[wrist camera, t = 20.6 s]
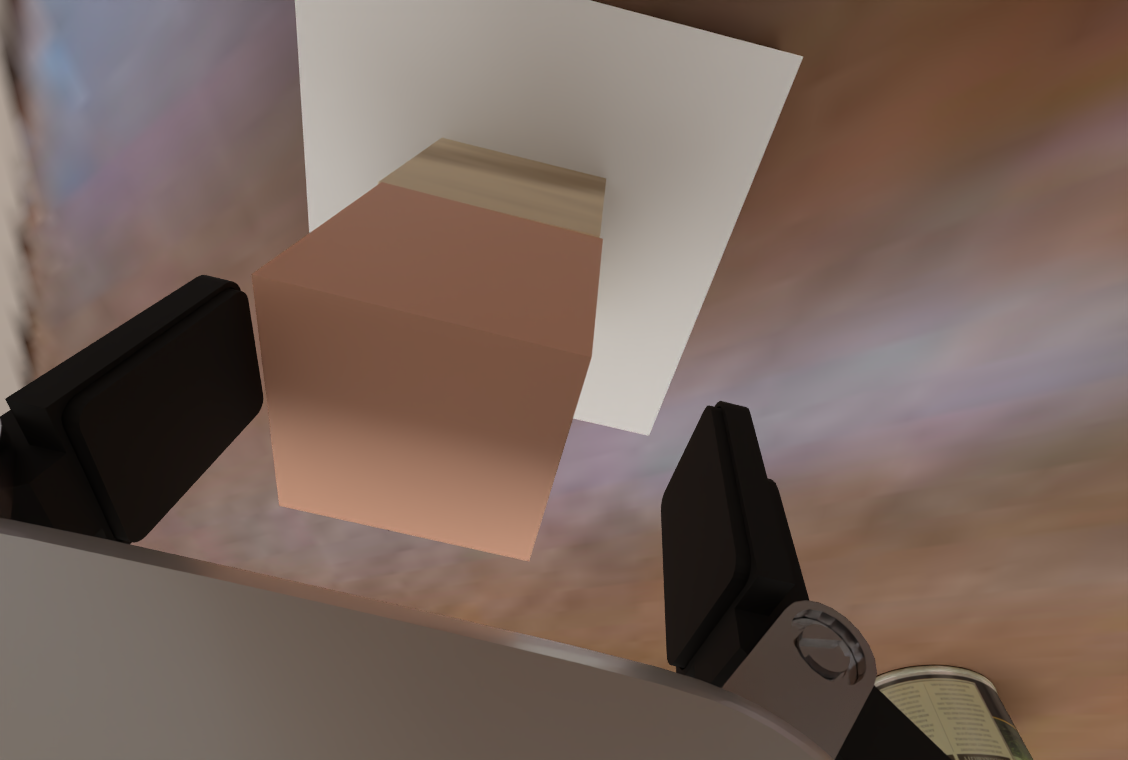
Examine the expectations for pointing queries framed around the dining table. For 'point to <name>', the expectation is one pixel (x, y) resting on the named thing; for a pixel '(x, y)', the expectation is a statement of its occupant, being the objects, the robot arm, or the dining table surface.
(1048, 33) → the dining table surface
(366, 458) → the terracotta cube
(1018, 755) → the coffee can
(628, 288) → the grey base board
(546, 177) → the brass cube
